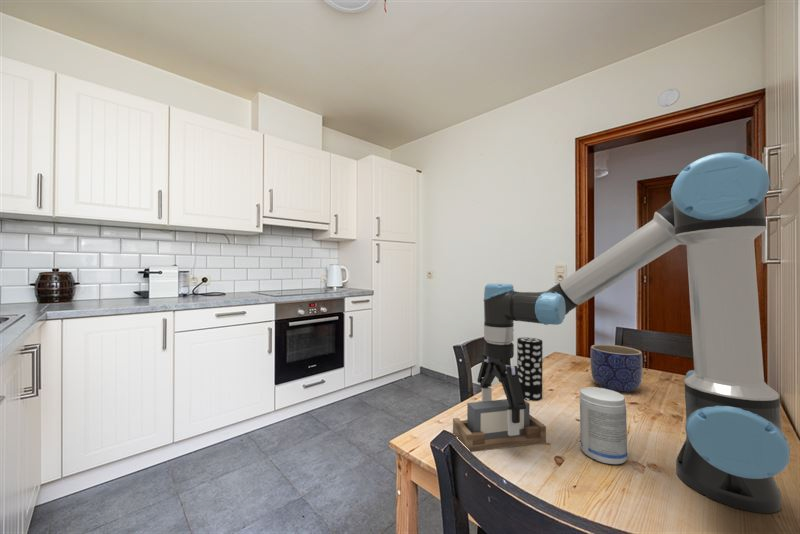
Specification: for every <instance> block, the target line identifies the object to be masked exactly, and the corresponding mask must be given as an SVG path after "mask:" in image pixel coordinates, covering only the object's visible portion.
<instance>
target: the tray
mask: <svg viewBox="0 0 800 534" xmlns="http://www.w3.org/2000/svg"><path fill="white" fill-rule="evenodd" d="M453 434H455V435H456V436H457V437H458V439H459V440H460V441H461V442H462V443H463V444H464V445H465V446H466V447H467V448H468V449H469V450H470V451H471V452H480V451H488V450H496V449H497V450H498V449H504V448H505V449H506V448H513V447H521V446H527V445H528V446H529V445H536V444H537V445H539V444H546V443H547V426H546V424H544V423H542V422H541V421H539V420H538V419H537V418H535V417H534V416H532V415H531V414H530V426H528V427H524V435H517V436H510V437H503V438H495V439H488V440H485V434H484V433H483V432H473V433H471V432H470V431H469V430H468V428H467V419H465V420H464V419H463V420H461V419H460V418H459V417H453V418H452V435H453ZM471 452H470V453H471Z"/></svg>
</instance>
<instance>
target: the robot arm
mask: <svg viewBox="0 0 800 534" xmlns="http://www.w3.org/2000/svg"><path fill="white" fill-rule="evenodd" d="M770 181H771V180H770V175H769V172H768V170H767V169H766V167H765V166H764V165H763V164H762V162H761V161H760V160H758V159H756V158H754V157H752V156H749V155H747V154H744V153H739V152H718V153H717V152H716V153H713V154H708V155H706V156H703V157H700V158H698V159H697V160H695V161H692V162H691V163H689V164H688V165H687V166H685V167H684V168H683V169H682V170H681V172H680V173H679V174H677V176H676V178H675V179H674V182H673V183H672V187H671V188H670V189H671V190H670V195H671V196H670V197H671V199H670V200H669V201H668V202H667V203H666V204H665V205H664V206H662V207H661V208H660V209H657V211H655V212H654V215H653V218H652V219H651V220H650V221H649V222H647V223H646V224H644V225H643V226H641V227H639V228H638V229H637V230H635V231H634V232H632V233H631V234H629V235H628V236H626V237H625V238H624V239H622V240H621V241H619V242H617V243H616V244H615V245H613V246H612V247H610V248H609V249H607V250H606V251H604V252H603V253H601V254H600V255H598V256H597V257H595V258H594V259H592V260H591V261H589V262H587V263H586V264H585V265H583V266H581V267H580V268H579V269H577V270H576V271H574V272H573V273H571V274H570V275H569V276H567V277H565V278H564V279H563V280H561V281H560V282H559V283H557V284H555V285H554V286H552V287H550V288H549V289H548V290H545V291H537V292H534V291H527V292H525V291H515V290H514V289H515V288H514V284H512V283H487V284H486V285H485V286H484V292H483V293H484V295H483V296H484V298H483V306H484V308H483V310H484V311H483V315H484V318H483V319H484V323H483V340H485V341H484V343H483V352H484V353H483V354H482V358H481V359H482V361H481V364H480V369H479V373H478V377H477V379H476V382H477V383H478V384H479V385H480V388H481V402H483V401H493V399H492V398H493V397H492V393H493V392H492V383H493V382H494V380H495V378H497V380H498V382H499V383H500V384H501V386H502V389H503V391H504V395H505V397H506V399H507V400H508V403H509V407H508V435H509V436H514V435H519V422H520V410H521V409H526V405H525V401H526V400H525V399H524V397H523V393H522V389H521V385H520V381H519V377H518V368H517V365H511V363H510V360H512V358H514V356H515V354H514V353H515V352H514V351H515V347H514V346H515V345H514V343H513V342H514V331H515V329H514V326H515V325H514V324H515V323H514V321H515V322H525V323H534V324H542V325H544V326H545V325H546V326H548V325H553V326H555V325H556V326H557V325H561V324H562V323H563V322H564V320H565V317H566V315H568V314H569V312H571V311H572V310H574V309H576V308H577V307H579V306H580V305H582V304H583V303H586V302H587V301H589V300H590V299H592V298H593V297H595V296H597V295H598V294H599V293H601V292H603V291H605V290H606V289H608V288H610V287H612V286H613V285H615V284H616V283H618V282H620V281H621V280H623V279H624V278H626V277H628V276H629V275H631V274H633V273H634V272H636V271H638V270H639V269H642V268H643V267H644V266H646V265H647V264H650V263H651V262H653V261H655V260H656V259H657V258H659V257H661V256H662V255H664V254H665V253H667V252H670V251H671V250H673V249H674V248H676V247H678V246H679V245H685V246H686V257H687V258H686V259H687V274H688V277H687V278H688V288H689V306H690V307H689V308H690V320H691V321H690V323H691V324H690V325H691V338H692V353H693V354H692V356H693V367H694V369H691V370H688V371H687V372H686V374H685V378H684V381H683V382H684V383H683V384H684V399H685V428H684V429H685V435H686V436H685V440H684V442H683V444H682V447H681V449H680V451H679V453H678V455H677V457H676V460H675V473H676V476H678V478H679V479H680V480H681V482H684V484H685V485H687V486H688V487H690V488H692V489H693V491H696V492H698V493H699V494H701V495H703V496H705V497H707V498H709V499H712V500H713V501H715V502H719V503H722V504H724V505H726V506H730V507H733V508H735V509H739V510H743V511H747V512H753V513H759V514H773V513H776V512H778V511H781V509H782V494H781V491H780V489H779V487H778V484H777V482H776V478H775V477H774V476H777V475H779V474H781V473H782V472H783V471H784V470H785V469H787V467H788V465H789V463H790V462H789V461H790V456H791V455H790V454H791V448H790V444H789V443H788V439H787V437H786V436H785V435H784V433H783V427H782V413H781V403H780V402H781V401H780V394H779V393H778V392H777V391H776V390H774V389H773V388H772V387H770V386H769V385H768V384H767V383H766V382H765V376H764V361H763V348H762V347H763V346H762V334H761V333H762V332H761V322H760V321H761V320H760V319H761V318H760V307H759V306H760V305H759V291H758V280H757V279H758V278H757V266H756V265H757V263H756V253H755V252H756V251H755V249H756V247H755V240H756V238H757V237H759V236H760V235H761V234H762V233H764V232H765V231H766V230H767V215H766V214H767V213H766V212H767V211H766V200H765V199H766V196H767V194H768V192H769V188H770V187H771V186H770V184H771V182H770ZM524 400H525V401H524Z"/></svg>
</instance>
